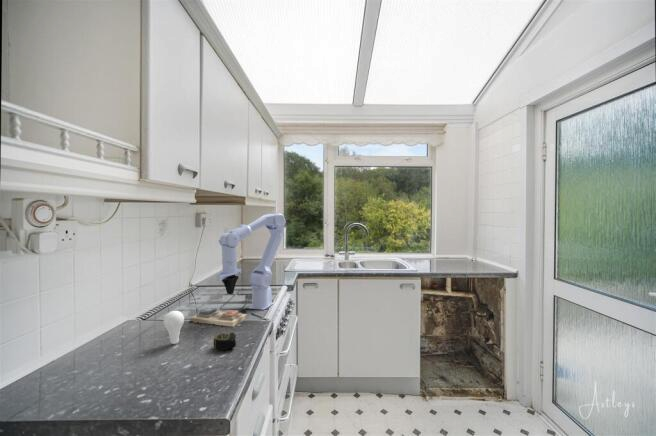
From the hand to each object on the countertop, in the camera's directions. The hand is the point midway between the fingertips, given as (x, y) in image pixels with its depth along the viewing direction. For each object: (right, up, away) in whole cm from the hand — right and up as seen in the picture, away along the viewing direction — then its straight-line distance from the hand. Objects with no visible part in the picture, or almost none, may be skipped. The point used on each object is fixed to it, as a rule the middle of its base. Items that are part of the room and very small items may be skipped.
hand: (230, 293), depth 126 cm
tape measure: (+8, -10, -28) cm, 31 cm away
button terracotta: (+2, -8, -6) cm, 10 cm away
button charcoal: (-9, -8, -2) cm, 12 cm away
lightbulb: (-10, -10, -26) cm, 30 cm away
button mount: (-3, -10, -4) cm, 11 cm away
